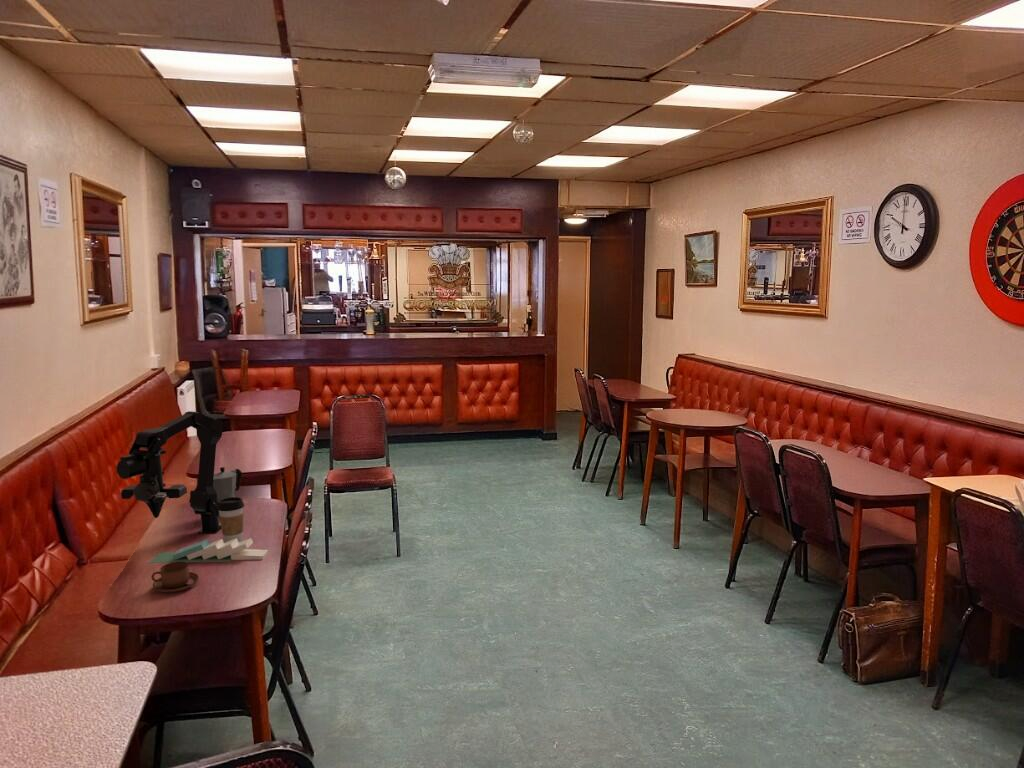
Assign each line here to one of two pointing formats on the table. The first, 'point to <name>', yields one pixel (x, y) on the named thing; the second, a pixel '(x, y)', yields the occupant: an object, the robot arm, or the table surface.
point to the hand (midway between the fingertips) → (156, 517)
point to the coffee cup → (231, 518)
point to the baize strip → (169, 558)
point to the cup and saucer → (174, 577)
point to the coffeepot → (226, 483)
